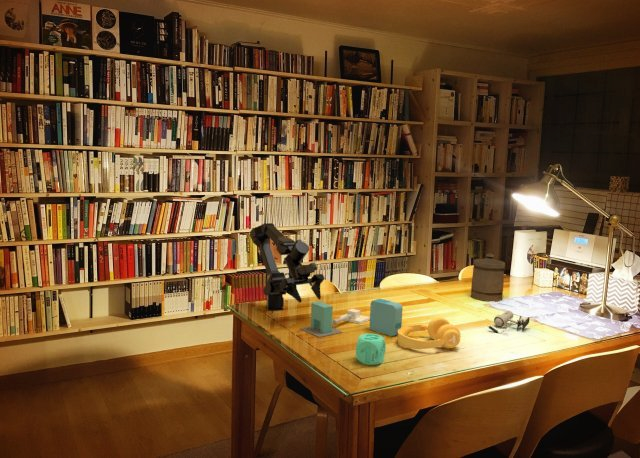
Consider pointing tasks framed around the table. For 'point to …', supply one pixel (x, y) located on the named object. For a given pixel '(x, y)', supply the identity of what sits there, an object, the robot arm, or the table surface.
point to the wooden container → (488, 279)
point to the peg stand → (352, 317)
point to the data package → (385, 317)
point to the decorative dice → (370, 349)
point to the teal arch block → (321, 316)
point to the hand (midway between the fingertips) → (310, 300)
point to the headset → (431, 335)
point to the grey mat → (317, 331)
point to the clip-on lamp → (507, 316)
